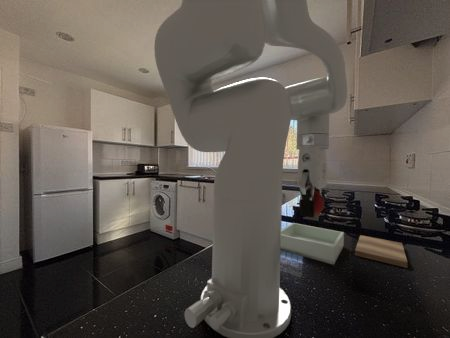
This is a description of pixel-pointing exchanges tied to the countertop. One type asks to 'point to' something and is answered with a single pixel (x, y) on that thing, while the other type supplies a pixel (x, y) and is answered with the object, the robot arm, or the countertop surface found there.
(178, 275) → the countertop surface
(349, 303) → the countertop surface
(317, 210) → the onion
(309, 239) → the bin
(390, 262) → the board
